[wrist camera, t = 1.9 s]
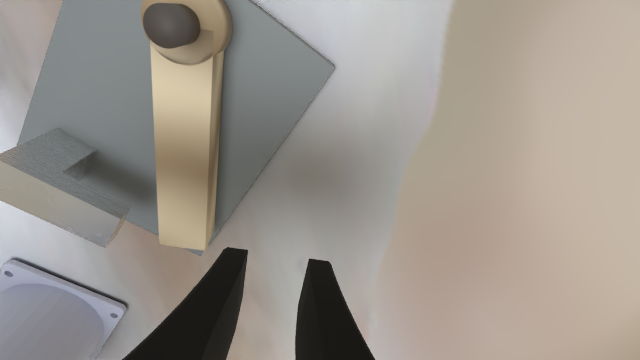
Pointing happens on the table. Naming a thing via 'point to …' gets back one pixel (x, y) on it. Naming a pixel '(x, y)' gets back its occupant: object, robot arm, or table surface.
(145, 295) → the table surface
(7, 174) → the steel keeper
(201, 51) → the beech link
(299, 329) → the robot arm
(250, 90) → the slate board
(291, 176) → the table surface
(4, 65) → the table surface
